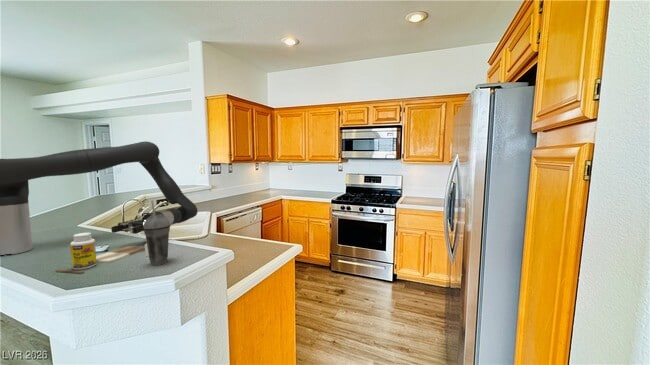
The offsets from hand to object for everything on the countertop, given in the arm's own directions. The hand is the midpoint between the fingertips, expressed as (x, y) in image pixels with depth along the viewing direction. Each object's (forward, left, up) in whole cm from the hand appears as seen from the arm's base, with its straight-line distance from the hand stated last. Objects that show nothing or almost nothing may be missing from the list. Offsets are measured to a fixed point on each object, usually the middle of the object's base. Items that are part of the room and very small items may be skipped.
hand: (122, 230), depth 93 cm
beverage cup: (+20, -7, -8) cm, 23 cm away
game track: (0, -6, -8) cm, 10 cm away
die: (+12, 0, -8) cm, 14 cm away
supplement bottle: (0, -13, -8) cm, 15 cm away
